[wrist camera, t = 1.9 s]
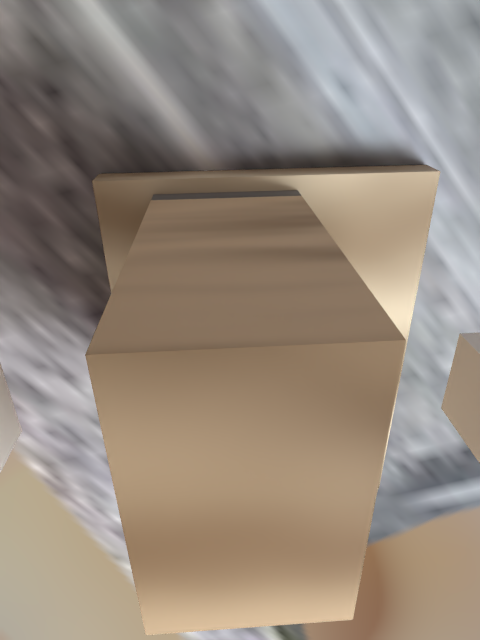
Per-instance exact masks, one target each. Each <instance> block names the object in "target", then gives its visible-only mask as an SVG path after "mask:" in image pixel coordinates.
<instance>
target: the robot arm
mask: <svg viewBox="0 0 480 640" xmlns="http://www.w3.org/2000/svg"><path fill="white" fill-rule="evenodd" d="M441 408H442V410H443V411H444V413H445V414H446V416H447V417H448V418H449V420H450V421H451V423H452V424H453V426H454V427H455V428H456V430H457V431H458V433H459V434H460V436H461V437H462V438H463V440H464V441H465V443H466V444H467V446H468V447H469V449H470V450H471V451H472V453H473V454H474V456H475V457H476V459H477V460H478V461H479V463H480V333H460V335H459V339H458V343H457V347H456V351H455V355H454V359H453V363H452V367H451V371H450V375H449V379H448V383H447V387H446V391H445V395H444V399H443V403H442V407H441ZM21 432H22V430H21V426H20V423H19V420H18V417H17V414H16V411H15V408H14V405H13V402H12V398H11V395H10V392H9V389H8V386H7V383H6V380H5V377H4V373H3V370H2V367H1V364H0V472H1V470H2V468H3V466H4V465H5V463H6V461H7V459H8V457H9V455H10V453H11V451H12V449H13V447H14V445H15V443H16V441H17V439H18V438H19V436H20V434H21Z"/></svg>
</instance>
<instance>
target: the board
mask: <svg viewBox="0 0 480 640" xmlns="http://www.w3.org/2000/svg"><path fill="white" fill-rule="evenodd" d="M439 175H440V171H439V170H436V169H434V168H432V167H430V166H428V165H398V166H362V167H326V168H290V169H254V170H218V171H182V172H146V173H110V174H99V175H98V176H97V177H96V178H95V179H94V180H93V181H92V184H93V189H94V195H95V201H96V207H97V213H98V219H99V225H100V231H101V236H102V242H103V248H104V254H105V260H106V266H107V272H108V278H109V284H110V289H111V293H112V291H113V289H114V286H115V284H116V281H117V279H118V277H119V274H120V272H121V270H122V267H123V265H124V263H125V260H126V258H127V256H128V253H129V251H130V248H131V246H132V244H133V241H134V239H135V237H136V234H137V232H138V230H139V227H140V225H141V223H142V220H143V218H144V215H145V213H146V211H147V208H148V206H149V204H150V201H151V199H152V197H153V194H181V193H215V192H248V191H281V190H298V191H299V193H300V194H301V195H302V197H303V198H304V200H305V201H306V202H307V204H308V205H309V207H310V208H311V209H312V211H313V212H314V213H315V215H316V216H317V218H318V219H319V220H320V222H321V223H322V225H323V226H324V227H325V229H326V230H327V231H328V233H329V234H330V236H331V237H332V238H333V240H334V241H335V243H336V244H337V245H338V247H339V248H340V249H341V251H342V252H343V254H344V255H345V256H346V258H347V259H348V260H349V262H350V263H351V265H352V266H353V267H354V269H355V270H356V272H357V273H358V274H359V276H360V277H361V278H362V280H363V281H364V283H365V284H366V285H367V287H368V288H369V290H370V291H371V292H372V294H373V295H374V296H375V298H376V299H377V301H378V302H379V303H380V305H381V306H382V307H383V309H384V310H385V312H386V313H387V314H388V316H389V317H390V319H391V320H392V321H393V323H394V324H395V325H396V327H397V328H398V330H399V331H400V332H401V334H402V335H403V337H404V338H405V339H406V344H405V349H404V354H403V359H402V364H401V370H400V375H399V380H398V385H397V391H396V396H395V401H394V406H393V411H392V417H391V422H390V427H389V432H388V438H389V433H390V428H391V423H392V418H393V412H394V407H395V402H396V397H397V392H398V387H399V382H400V376H401V371H402V366H403V361H404V356H405V351H406V345H407V340H408V335H409V330H410V325H411V320H412V315H413V309H414V304H415V299H416V294H417V289H418V284H419V278H420V273H421V268H422V263H423V258H424V253H425V248H426V242H427V237H428V232H429V227H430V222H431V217H432V211H433V206H434V201H435V196H436V191H437V186H438V180H439ZM388 438H387V443H388ZM387 443H386V448H385V453H384V458H383V464H384V459H385V454H386V449H387ZM383 464H382V469H383ZM382 469H381V474H382ZM381 474H380V479H379V485H380V480H381ZM379 485H378V488H379Z"/></svg>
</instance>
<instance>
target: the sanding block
mask: <svg viewBox="0 0 480 640" xmlns="http://www.w3.org/2000/svg"><path fill="white" fill-rule="evenodd" d="M405 344H406V339H405V338H404V337H403V335H402V334H401V332H400V331H399V330H398V328H397V327H396V325H395V324H394V323H393V321H392V320H391V319H390V317H389V316H388V314H387V313H386V312H385V310H384V309H383V307H382V306H381V305H380V303H379V302H378V301H377V299H376V298H375V296H374V295H373V294H372V292H371V291H370V290H369V288H368V287H367V285H366V284H365V283H364V281H363V280H362V278H361V277H360V276H359V274H358V273H357V272H356V270H355V269H354V267H353V266H352V265H351V263H350V262H349V260H348V259H347V258H346V256H345V255H344V254H343V252H342V251H341V249H340V248H339V247H338V245H337V244H336V243H335V241H334V240H333V238H332V237H331V236H330V234H329V233H328V231H327V230H326V229H325V227H324V226H323V225H322V223H321V222H320V220H319V219H318V218H317V216H316V215H315V213H314V212H313V211H312V209H311V208H310V207H309V205H308V204H307V202H306V201H305V200H304V198H303V197H302V195H301V194H300V193H299V191H298V190H281V191H248V192H215V193H181V194H153V197H152V199H151V201H150V204H149V206H148V208H147V211H146V213H145V215H144V218H143V220H142V223H141V225H140V227H139V230H138V232H137V234H136V237H135V239H134V241H133V244H132V246H131V248H130V251H129V253H128V256H127V258H126V260H125V263H124V265H123V267H122V270H121V272H120V274H119V277H118V279H117V281H116V284H115V286H114V289H113V291H112V293H111V296H110V298H109V300H108V303H107V305H106V307H105V310H104V312H103V314H102V317H101V319H100V321H99V324H98V326H97V329H96V331H95V333H94V336H93V338H92V340H91V343H90V345H89V347H88V350H87V352H86V354H85V356H86V360H87V365H88V370H89V374H90V379H91V384H92V388H93V393H94V397H95V402H96V407H97V411H98V416H99V421H100V425H101V430H102V434H103V439H104V444H105V448H106V453H107V458H108V462H109V467H110V471H111V476H112V481H113V485H114V490H115V495H116V499H117V504H118V508H119V513H120V518H121V522H122V527H123V532H124V536H125V541H126V545H127V550H128V555H129V559H130V564H131V569H132V573H133V578H134V582H135V587H136V592H137V596H138V600H139V606H140V610H141V615H142V619H143V623H144V629H145V633H146V635H153V634H166V633H180V632H193V631H207V630H220V629H234V628H247V627H261V626H274V625H287V624H301V623H314V622H327V621H340V620H352V619H353V615H354V610H355V604H356V599H357V594H358V589H359V583H360V578H361V573H362V568H363V563H364V558H365V552H366V547H367V542H368V537H369V532H370V526H371V521H372V516H373V511H374V505H375V500H376V495H377V490H378V485H379V479H380V474H381V469H382V464H383V458H384V453H385V448H386V443H387V438H388V432H389V427H390V422H391V417H392V411H393V406H394V401H395V396H396V391H397V385H398V380H399V375H400V370H401V364H402V359H403V354H404V349H405Z"/></svg>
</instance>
